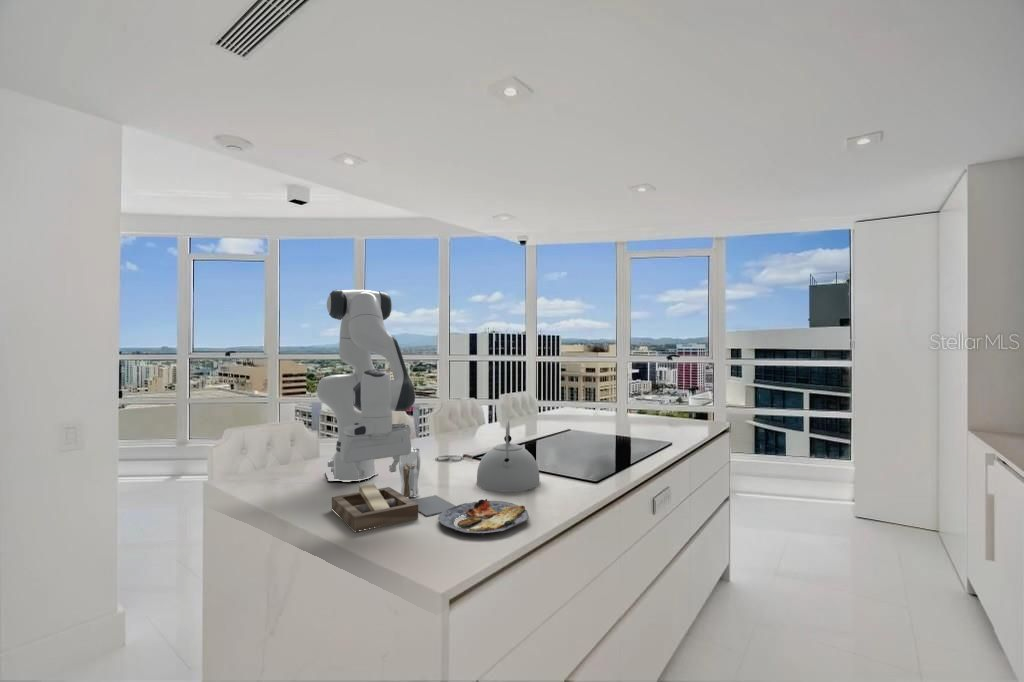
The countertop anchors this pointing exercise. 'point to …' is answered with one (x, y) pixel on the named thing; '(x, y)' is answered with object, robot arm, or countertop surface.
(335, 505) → the pocket board
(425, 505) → the rubber mat
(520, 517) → the food plate
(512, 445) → the kettle
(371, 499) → the maple bar
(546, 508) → the countertop surface
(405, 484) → the drinking glass
